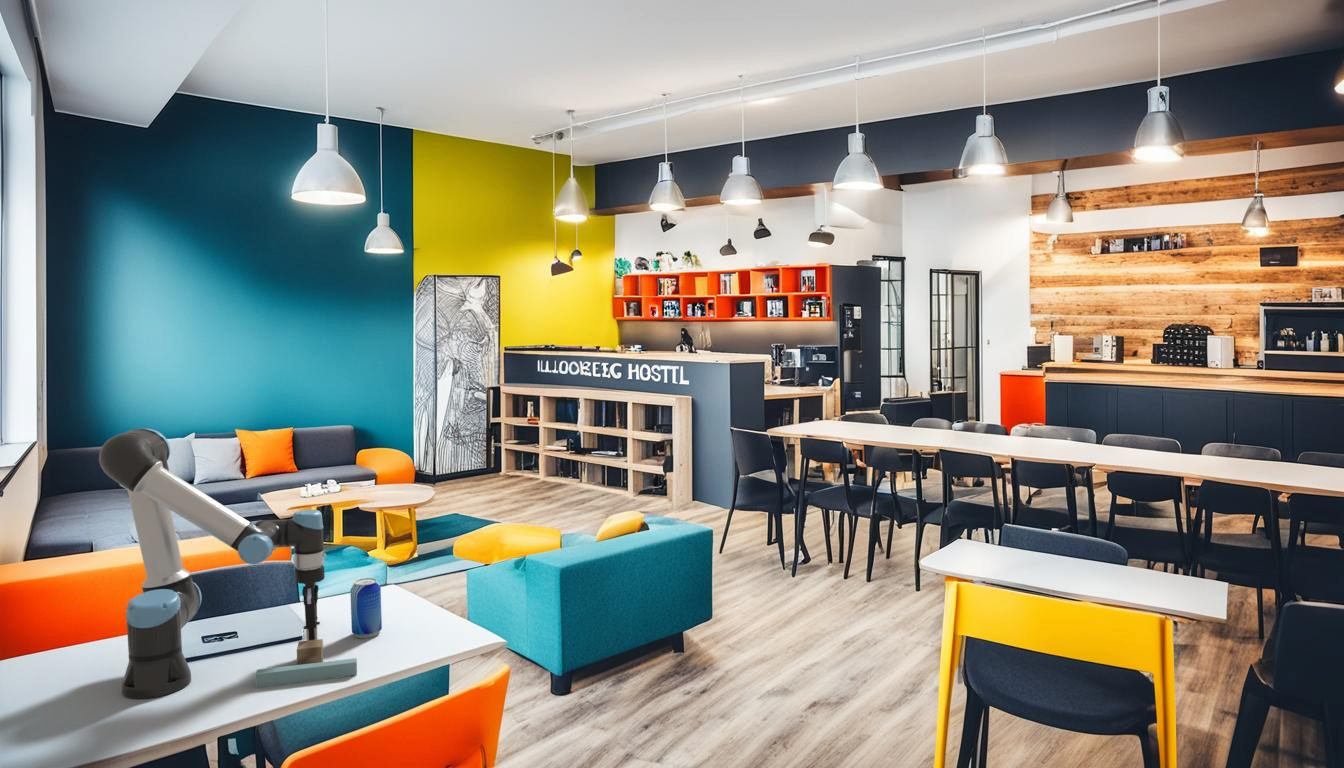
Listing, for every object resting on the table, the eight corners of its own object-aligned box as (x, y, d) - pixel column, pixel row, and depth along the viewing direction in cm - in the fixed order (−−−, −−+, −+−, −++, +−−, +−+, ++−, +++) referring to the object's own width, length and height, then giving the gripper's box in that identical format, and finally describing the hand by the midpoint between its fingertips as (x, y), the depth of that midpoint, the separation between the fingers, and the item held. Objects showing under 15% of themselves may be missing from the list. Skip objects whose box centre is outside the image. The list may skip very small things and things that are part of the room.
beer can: (362, 641, 253) (361, 587, 252) (346, 635, 258) (344, 582, 257) (387, 633, 259) (386, 580, 258) (371, 627, 265) (369, 575, 263)
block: (297, 671, 232) (296, 649, 231) (299, 663, 237) (298, 641, 237) (321, 668, 233) (321, 646, 233) (323, 660, 239) (322, 639, 239)
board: (256, 687, 221) (255, 674, 221) (257, 683, 224) (257, 669, 224) (356, 675, 229) (356, 662, 228) (357, 670, 232) (356, 658, 231)
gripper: (322, 571, 236) (325, 656, 238) (325, 559, 249) (328, 640, 250) (292, 574, 234) (295, 660, 236) (297, 561, 246) (299, 643, 248)
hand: (312, 649), depth 243 cm, fingers closed
